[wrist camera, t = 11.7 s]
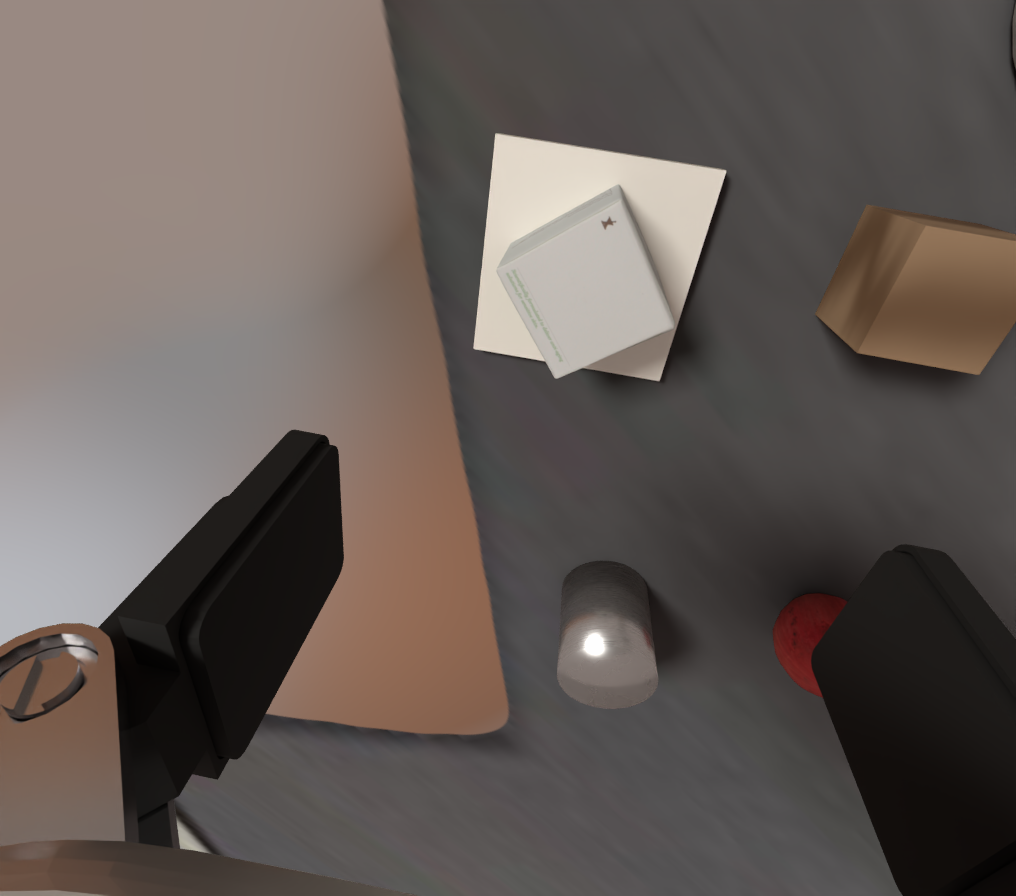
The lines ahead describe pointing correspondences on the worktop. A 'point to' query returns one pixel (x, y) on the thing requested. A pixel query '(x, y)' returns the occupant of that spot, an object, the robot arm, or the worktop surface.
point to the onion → (804, 634)
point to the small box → (586, 284)
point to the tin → (606, 637)
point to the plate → (567, 184)
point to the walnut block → (923, 290)
